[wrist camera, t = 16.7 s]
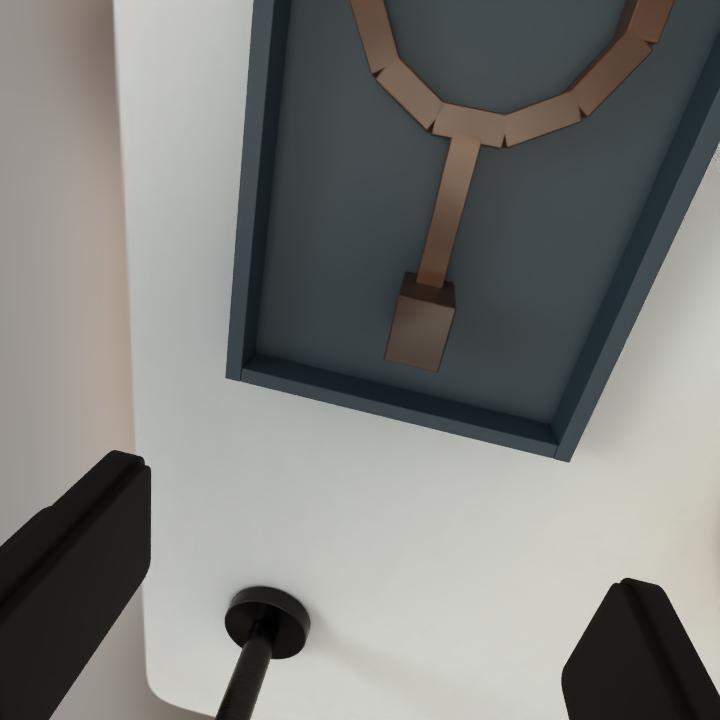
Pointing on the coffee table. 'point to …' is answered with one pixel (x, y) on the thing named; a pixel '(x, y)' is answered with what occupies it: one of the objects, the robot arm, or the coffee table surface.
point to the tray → (480, 215)
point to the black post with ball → (260, 643)
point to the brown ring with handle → (467, 134)
